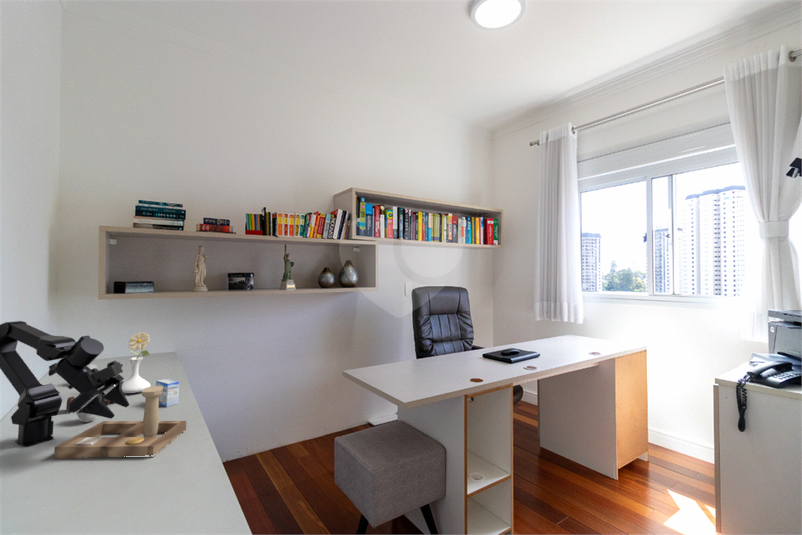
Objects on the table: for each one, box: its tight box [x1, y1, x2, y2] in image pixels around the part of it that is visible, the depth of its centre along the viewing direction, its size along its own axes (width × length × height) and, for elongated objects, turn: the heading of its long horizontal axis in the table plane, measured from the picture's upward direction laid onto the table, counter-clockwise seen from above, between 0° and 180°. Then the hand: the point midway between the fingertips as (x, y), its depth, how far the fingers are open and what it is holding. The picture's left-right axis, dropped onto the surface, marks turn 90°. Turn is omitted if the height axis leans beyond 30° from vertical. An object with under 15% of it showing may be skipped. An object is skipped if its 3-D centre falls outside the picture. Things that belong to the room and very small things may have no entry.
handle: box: [141, 385, 163, 437], centre depth 112 cm, size 5×6×15 cm
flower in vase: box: [122, 331, 152, 394], centre depth 157 cm, size 13×11×25 cm
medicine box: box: [155, 378, 180, 408], centre depth 143 cm, size 8×4×9 cm, turn 62°
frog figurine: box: [75, 408, 98, 423], centre depth 124 cm, size 6×7×7 cm
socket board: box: [53, 420, 187, 460], centre depth 109 cm, size 25×18×3 cm
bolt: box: [66, 394, 114, 413], centre depth 138 cm, size 6×5×15 cm
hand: (120, 411), depth 110 cm, fingers open, 9 cm apart
